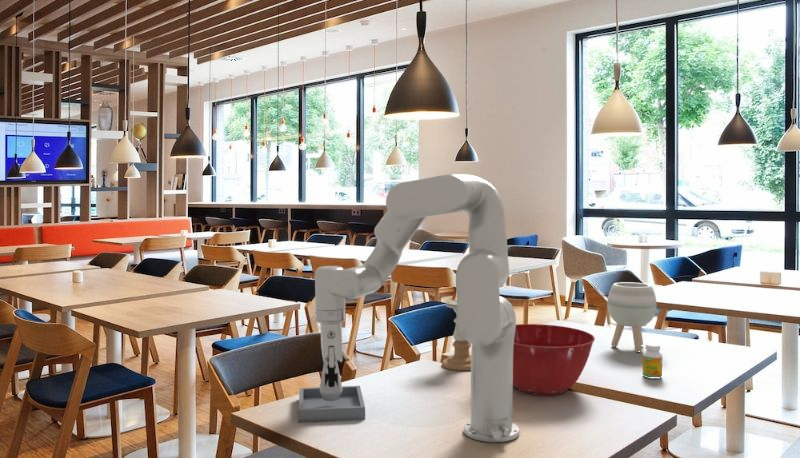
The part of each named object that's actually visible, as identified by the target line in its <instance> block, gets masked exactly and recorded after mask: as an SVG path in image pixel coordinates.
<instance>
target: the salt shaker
mask: <svg viewBox="0 0 800 458" xmlns="http://www.w3.org/2000/svg"><path fill="white" fill-rule="evenodd" d="M328 351H329V347H328ZM327 361H329V359H327ZM334 361H335V359H334ZM328 365H329V364H328ZM334 365H335V364H334ZM325 373H326V363H325V362H324V361H323V366H322V372H321V378H320V384H319V387H320V389H319V390H320V393H321V395H322V398H323V399H324V400H325V401H335V400H338V399H339V397H340V395H341V393H342V390H343V389H342V386H343V385H342V380H341V379H342V378H341V375H340V369H339V364H338V362H337V373H338V386H337V383H336V382H335V386H334V387H329V386H328V381H327V383H326V386H325Z"/></svg>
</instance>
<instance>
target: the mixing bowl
mask: <svg viewBox="0 0 800 458" xmlns="http://www.w3.org/2000/svg"><path fill="white" fill-rule="evenodd" d="M595 337H596V336H594V335H593V334H591V333H589V332H588V331H585V330H581V329H578V328H573V327H569V326H562V325H553V324H552V325H551V324H537V323H519V324H517V323H516V328H515V337H514V350H513V387H515V388H517V389H518V390H519V391H522V392H524V393H528V394H532V395H541V396H542V395H543V396H553V395H560V394H562V393H564V392H566V391H567V390H569V389H571V388H572V387H573V386H574V385H575V384H576V383H577V381H578V380H579V378H580V376H581V375H582V373H583V371H584V369H585V368H586V365H587V363H588V360H589V357H590V353H591V351H592V347H593V343H594V342H595V340H596V338H595Z"/></svg>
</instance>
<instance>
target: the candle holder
mask: <svg viewBox="0 0 800 458" xmlns="http://www.w3.org/2000/svg"><path fill="white" fill-rule="evenodd" d="M445 306H446V308H450V309H453V311H454V312H455V314H456V316H455V318H454V319H453V322H454V323H455V327H454V331H453V334H452V337H453V340H454V341H453V342H452V347H453V348H454V352H453V354H451V355H449V356H448V357H446V358H445V359H443V360H442V363H441V364H442V367H444V368H445V369H447V370H450V371H451V370H452V371H459V372H463V371H464V372H465V371H467V372H468V371H471V355H470V349H471V347H472V344H471V343H469V342H468V341H467V340H466V339H465V338H464V337H463V335H462V333H461V331H460V328H459V322H458V310H457V299H451V300H447V301H445Z"/></svg>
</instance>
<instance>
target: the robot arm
mask: <svg viewBox="0 0 800 458" xmlns="http://www.w3.org/2000/svg"><path fill="white" fill-rule="evenodd" d="M385 206H386V209H387V210H386V212H385V214H384V215H383V216H382V217H381V219H379V222H378V223H377V224H376V226H375V227H374V230H373V233H374V235H375V238H376V244H375V247H374V248H373V250H372V252H371V254H370V255H369V256H368V257H367V259H366V260H365V261H364V262H363V264H362V265H358V266H355V267H354V266H353V267H349V268H343V267H342V266H339V265H323V266H319V267H316V270H315V272H314V291H315V292H314V294H315V296H314V297H315V323H318V324H320V325H319V326H320V348H321V356H322V362H323V363H324V362H325V363H326V373H325V386H326V383H327V381H328V386H329V387H334V386H335V382H336V383H337V386H338V373H337V363H338V362H339V363H342V362H343V326H342V323H344V322H346V299H348V300H355V299H359V298H362V297H365V296H369V295H370V294H373V293H376V291H378V290H379V289H380V288H381V287H382V286H383V285H384V284H385V283H386V281H387V280H388V279H389V277H390V276H391V275H392V273H393V272H394V271H395V269H396V267H397V265H398V263H399V261H400V259H401V257H402V254H403V250H404V249H405V247H406V246H407V244H408V243H409V242H410V240H411V239H412V238H413V236H414V235H415V233H416V232H417V231H418V229H419V228H420V227H421V226H422V225H423V223H424V222H425V220H426V219H427V218H428V217H433V216H439V215H445V214H446V215H447V214H454V213H460V212H461V213H462V212H464V213H465V212H466V213H467V214H468V219H469V220H468V230H467V232H468V233H467V235H468V236H467V237H468V249H469V250H468V251H469V252H468V254H466V255H465V256H464V257H463V258H462V259H461V260H460V261H459V262H458V263H459V264H458V266H457V269H456V272H455V290H456V292H455V294H456V300H457V310H458V322H459V328H460V331H461V333H462V335H463V337H464V338H465V339H466V340H467V341H468V342H469V343H471V352H470V353H471V370H470V421H468V422H466V423H465V424H464V426H463V432H464V435H466V437H468V438H470V439H473V440H476V441H479V442H486V443H504V442H505V443H506V442H510V441H513V440H515V439H516V438H518V437H519V435H520V428H519V426H518V425H517V424H515V423H513V422H514V421H513V416H514V414H513V409H514V408H513V406H514V405H513V404H514V403H513V401H514V390H513V389H514V385H513V350H514V337H515V328H516V325H517V316H516V315H517V314H516V311H515V309H514V306H513V305H512V303H511V302H510V301H509V300H508V299H507V298H505V297H503V296H501V295H500V288H501V287H502V286H504V285H505V284H506V283H507V281H508V278H509V275H510V265H509V254H508V238H507V229H506V214H505V206H504V202H503V199H502V197H501V195H500V193H499V191H498V190H497V189H496V187H495V186H493V185H492V184H491V183H490V182H488V181H487V180H485V179H483V178H481V177H479V176H476V175H473V174H464V173H462V174H461V173H459V174H457V173H456V174H455V173H451V174H447V173H446V174H443V175H442V174H441V175H436V176H433V177H432V176H431V177H426V178H421V179H415V180H409V181H401V182H398V183H396V184H395V185H394V186H392V187H391V188H390V189H389V191H388V192H387V196H386V199H385ZM328 347H329V351H328ZM327 359H329V361H327ZM334 359H335V361H334ZM328 364H329V365H328ZM334 364H335V365H334Z"/></svg>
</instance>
